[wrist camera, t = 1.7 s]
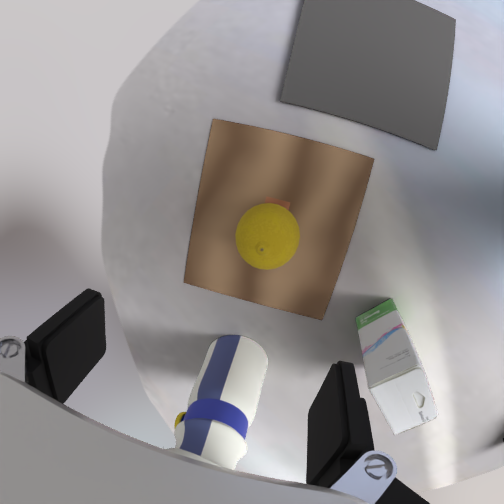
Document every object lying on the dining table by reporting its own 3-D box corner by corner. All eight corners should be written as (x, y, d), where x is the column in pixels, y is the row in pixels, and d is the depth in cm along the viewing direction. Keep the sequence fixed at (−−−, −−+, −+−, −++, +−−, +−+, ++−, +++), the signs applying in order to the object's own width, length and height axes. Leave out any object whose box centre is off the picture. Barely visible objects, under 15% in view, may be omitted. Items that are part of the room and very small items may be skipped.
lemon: (287, 188, 30) (282, 202, 22) (308, 240, 31) (309, 270, 23) (235, 208, 31) (214, 229, 23) (257, 258, 32) (243, 292, 25)
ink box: (414, 348, 33) (443, 416, 22) (378, 366, 35) (395, 438, 24) (391, 295, 31) (424, 362, 20) (351, 317, 33) (366, 390, 22)
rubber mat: (453, 21, 20) (455, 19, 20) (434, 150, 26) (436, 150, 25) (311, -28, 21) (311, -30, 21) (280, 101, 27) (279, 100, 26)
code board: (373, 158, 27) (374, 158, 27) (322, 319, 34) (322, 320, 33) (213, 118, 29) (213, 118, 28) (184, 281, 35) (183, 282, 35)
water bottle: (216, 387, 39) (154, 550, 16) (195, 337, 37) (100, 513, 14) (276, 383, 38) (242, 567, 14) (260, 329, 35) (202, 540, 12)
